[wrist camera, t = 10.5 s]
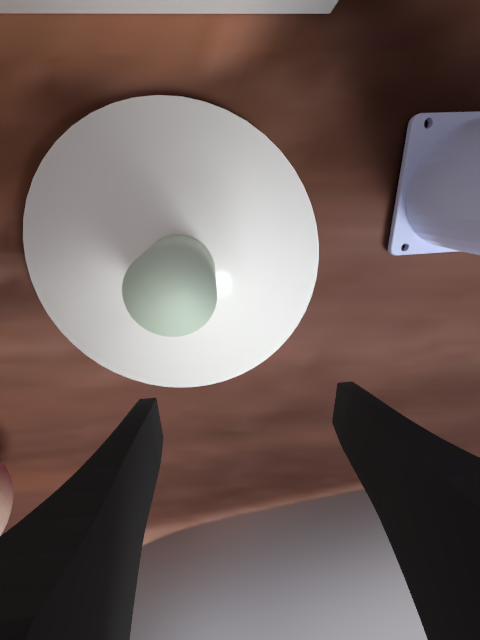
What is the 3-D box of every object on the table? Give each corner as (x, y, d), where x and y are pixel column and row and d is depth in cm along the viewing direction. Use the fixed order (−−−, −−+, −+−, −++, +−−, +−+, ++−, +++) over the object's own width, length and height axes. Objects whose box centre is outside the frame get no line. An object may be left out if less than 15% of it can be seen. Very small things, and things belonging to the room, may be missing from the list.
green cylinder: (212, 232, 17) (213, 245, 13) (217, 300, 19) (220, 333, 15) (138, 236, 17) (112, 251, 12) (150, 305, 19) (132, 340, 14)
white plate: (324, 96, 16) (330, 91, 15) (307, 370, 23) (310, 375, 22) (-20, 103, 14) (-33, 98, 14) (76, 391, 22) (72, 398, 21)
